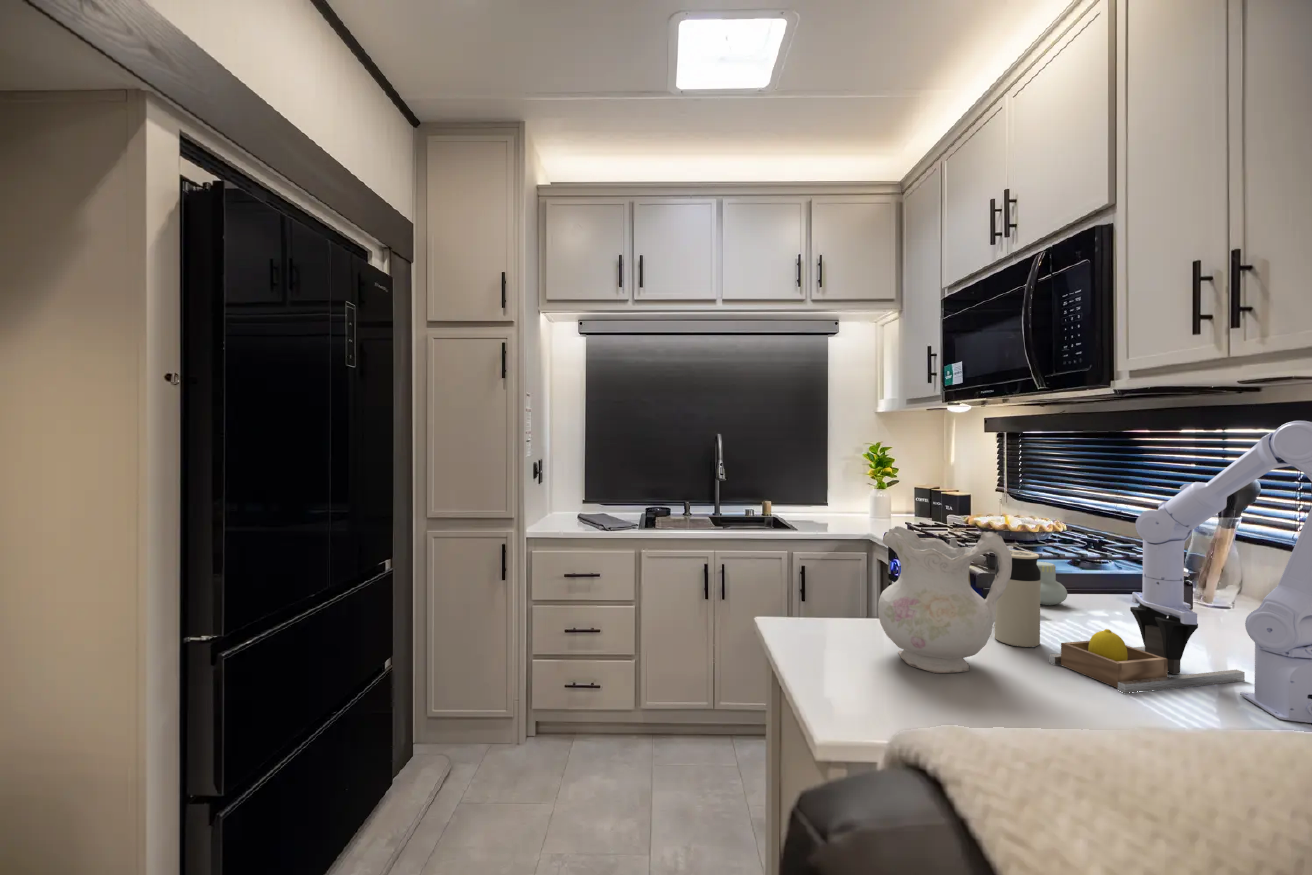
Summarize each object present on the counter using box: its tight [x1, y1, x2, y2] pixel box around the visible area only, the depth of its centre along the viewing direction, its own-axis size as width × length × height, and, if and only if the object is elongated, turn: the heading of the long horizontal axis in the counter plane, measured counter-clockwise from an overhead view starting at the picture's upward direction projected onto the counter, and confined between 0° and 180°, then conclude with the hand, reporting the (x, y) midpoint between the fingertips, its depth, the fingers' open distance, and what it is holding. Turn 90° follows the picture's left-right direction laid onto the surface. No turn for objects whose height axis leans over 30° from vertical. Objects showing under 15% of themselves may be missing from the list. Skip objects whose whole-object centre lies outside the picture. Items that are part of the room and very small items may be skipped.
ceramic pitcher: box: [877, 526, 1012, 674], centre depth 113 cm, size 22×20×25 cm
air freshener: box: [1037, 560, 1068, 606], centre depth 156 cm, size 11×8×10 cm
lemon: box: [1088, 628, 1128, 662], centre depth 107 cm, size 6×6×8 cm
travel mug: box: [994, 549, 1041, 648], centre depth 125 cm, size 8×8×18 cm
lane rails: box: [1048, 645, 1246, 694], centre depth 109 cm, size 26×14×2 cm, turn 104°
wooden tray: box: [1060, 625, 1181, 689], centre depth 108 cm, size 18×11×7 cm, turn 104°
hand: (1162, 653), depth 110 cm, fingers closed on wooden tray, 5 cm apart
